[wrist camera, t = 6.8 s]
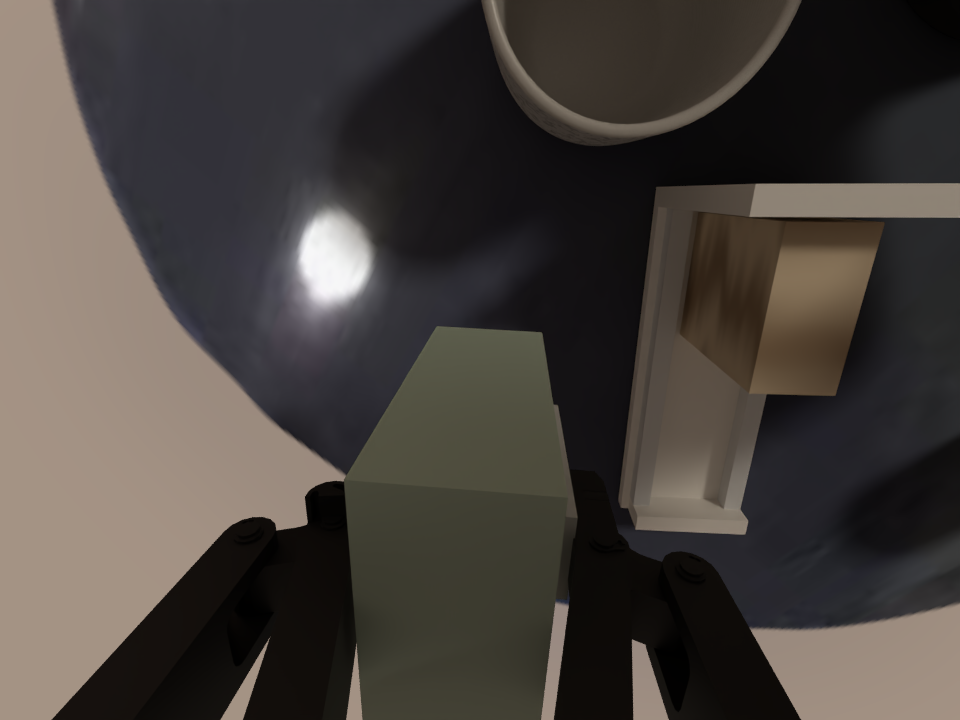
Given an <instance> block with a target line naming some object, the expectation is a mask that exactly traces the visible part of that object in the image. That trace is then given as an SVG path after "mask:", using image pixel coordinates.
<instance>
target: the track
mask: <svg viewBox="0 0 960 720" xmlns="http://www.w3.org/2000/svg"><path fill="white" fill-rule="evenodd" d="M698 212H709V213H718V214H727V215H737V216H746V217H939V218H960V184H733V185H702V186H670V187H656V194H655V202H654V210H653V218H652V227H651V235H650V243H649V251H648V259H647V268H646V276H645V284H644V292H643V301H642V309H641V317H640V325H639V334H638V342H637V350H636V358H635V366H634V375H633V383H632V391H631V399H630V408H629V416H628V424H627V432H626V441H625V449H624V457H623V465H622V473H621V482H620V490H619V498H618V501H619V504H620V507H621V508H628V510H629V512H630V515H631V518H632V521H633V523H634V526H635V529H636V530H656V531H678V532H701V533H723V534H745V533H746V529H747V525H748V520H747V519H746V517H745V516H744V514H743V513H742V512H741V510H740V508H741V504H742V499H743V495H744V491H745V486H746V482H747V478H748V473H749V469H750V465H751V460H752V456H753V452H754V447H755V443H756V439H757V434H758V430H759V426H760V421H761V417H762V413H763V408H764V404H765V400H766V395H767V394H749V393H748V392H747V391H746V390H744V389H743V388H742V387H741V386H740V385H739V384H737V383H736V382H735V381H734V380H733V379H732V378H730V377H729V376H728V375H727V374H726V373H724V372H723V371H722V370H721V369H720V368H719V367H717V366H716V365H715V364H714V363H713V362H712V361H710V360H709V359H708V358H707V357H706V356H705V355H703V354H702V353H701V352H700V351H699V350H698V349H696V348H695V347H694V346H693V345H692V344H691V343H689V342H688V341H687V340H686V339H685V338H684V337H682V336H681V335H680V329H681V323H682V316H683V310H684V303H685V297H686V290H687V284H688V277H689V271H690V264H691V257H692V251H693V244H694V238H695V231H696V225H697V218H698Z"/></svg>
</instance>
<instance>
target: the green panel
mask: <svg viewBox="0 0 960 720" xmlns="http://www.w3.org/2000/svg"><path fill="white" fill-rule="evenodd" d="M344 487H345V500H346V513H347V526H348V538H349V551H350V564H351V577H352V590H353V602H354V615H355V628H356V641H357V653H358V665H359V679H360V691H361V703H362V704H361V705H362V717H363V720H541V715H542V707H543V698H544V690H545V682H546V673H547V664H548V657H549V649H550V641H551V633H552V625H553V616H554V608H555V600H556V592H557V584H558V576H559V567H560V559H561V551H562V543H563V535H564V526H565V518H566V510H567V502H568V494H567V488H566V482H565V475H564V469H563V463H562V456H561V450H560V443H559V437H558V431H557V424H556V418H555V412H554V405H553V399H552V392H551V386H550V380H549V373H548V367H547V361H546V354H545V348H544V341H543V335H542V332H527V331H509V330H492V329H474V328H457V327H439V326H437V327H436V328H435V330H434V332H433V333H432V335H431V337H430V338H429V340H428V342H427V343H426V345H425V347H424V348H423V350H422V352H421V353H420V355H419V357H418V358H417V360H416V362H415V363H414V365H413V367H412V368H411V370H410V371H409V373H408V375H407V376H406V378H405V380H404V381H403V383H402V385H401V386H400V388H399V390H398V391H397V393H396V395H395V396H394V398H393V400H392V401H391V403H390V405H389V406H388V408H387V410H386V411H385V413H384V414H383V416H382V418H381V419H380V421H379V423H378V424H377V426H376V428H375V429H374V431H373V433H372V434H371V436H370V438H369V439H368V441H367V443H366V444H365V446H364V448H363V449H362V451H361V452H360V454H359V456H358V457H357V459H356V461H355V462H354V464H353V466H352V467H351V469H350V471H349V472H348V474H347V476H346V477H345V479H344Z"/></svg>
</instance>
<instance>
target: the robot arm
mask: <svg viewBox="0 0 960 720" xmlns="http://www.w3.org/2000/svg"><path fill="white" fill-rule="evenodd" d="M907 1H908V3H909V4H910V6H911V7H912V8H913V9H914V11H915V12H916V13H917V14H918V15H919V16H920V17H921V18H922V19H923V20H924V21H925V22H927V23H928V24H929V25H930V26H932V27H933V28H935V29H936V30H938V31H940V32H942V33H944V34H945V35H948V36H950V37H953V38H955V39H959V40H960V0H907ZM554 412H555V418H556V424H557V431H558V437H559V443H560V450H561V456H562V463H563V469H564V475H565V482H566V488H567V494H568V502H567V510H566V518H565V526H564V535H563V543H562V551H561V559H560V567H559V576H558V584H557V592H556V599H566V600H567V594H568V587H569V595H570V601H569V609H568V616H567V624H566V631H565V639H564V646H563V655H562V662H561V669H560V677H559V685H558V692H557V701H556V707H555V715H554V720H633V685H632V684H633V683H632V682H633V681H632V680H633V679H632V639H633V640H635V641H638V642H640V643H643V644H645V645H646V649H647V652H648V655H649V658H650V661H651V665H652V668H653V671H654V674H655V677H656V680H657V683H658V687H659V690H660V693H661V696H662V699H663V703H664V706H665V709H666V712H667V715H668V718H669V720H801V719H800V718H799V716H798V714H797V712H796V710H795V708H794V707H793V705H792V703H791V701H790V699H789V698H788V696H787V694H786V692H785V690H784V689H783V687H782V685H781V684H780V682H779V680H778V678H777V676H776V675H775V673H774V672H773V669H772V667H771V666H770V664H769V662H768V660H767V659H766V657H765V655H764V653H763V652H762V650H761V648H760V646H759V644H758V643H757V641H756V639H755V637H754V636H753V634H752V632H751V630H750V628H749V627H748V625H747V623H746V621H745V619H744V618H743V616H742V614H741V612H740V611H739V609H738V607H737V605H736V604H735V602H734V600H733V598H732V596H731V595H730V593H729V591H728V589H727V588H726V586H725V584H724V582H723V580H722V579H721V577H720V575H719V573H718V572H717V571H716V570H715V568H714V567H713V566H712V565H711V564H710V563H708V562H707V561H706V560H704V559H703V558H701V557H699V556H696V555H694V554H692V553H687V552H671V553H670V554H668V555H666V556H665V557H664V559H663V561H662V562H661V561H657V560H654V559H651V558H648V557H645V556H643V555H640V554H638V553H636V552H635V551H633V550H631V549H630V548H629V544H628V542H627V541H626V540H625V538H624V537H623V536H622V535H620V534H619V533H618V530H617V527H616V523H615V520H614V516H613V513H612V509H611V506H610V503H609V499H608V495H607V493H606V488H605V485H604V481H603V480H602V479H601V478H600V477H599V476H598V475H597V474H596V473H595V471H583V470H570V469H569V466H568V460H567V454H566V449H565V443H564V437H563V432H562V426H561V420H560V415H559V409H558V405H554ZM305 501H306V511H307V519H308V523H307V525H305V526H302V527H297V528H291V529H284V530H278V531H276V526H275V523H274V522H273V521H272V520H271V519H267V518H264V517H252V518H248V519H244V520H241V521H239V522H237V523H235V524H233V525H232V526H230V527H229V528H228V529H227V530H225V531H224V532H223V533H222V535H221V536H220V537H219V538H218V539H217V540H216V541H215V542H214V544H212V546H211V547H210V548H209V549H208V550H207V551H206V552H205V553H204V554H203V555H202V556H201V557H200V559H199V560H198V561H197V562H196V563H195V564H194V565H193V566H192V567H191V568H190V570H189V571H188V572H187V573H186V574H185V575H184V576H183V577H182V578H181V579H180V580H179V582H178V583H177V584H176V585H175V586H174V587H173V588H172V589H171V590H170V591H169V592H168V593H167V595H166V596H165V597H164V598H163V599H162V600H161V601H160V602H159V603H158V604H157V605H156V607H155V608H154V609H153V610H152V611H151V612H150V613H149V614H148V615H147V616H146V617H145V619H144V620H143V621H142V622H141V623H140V624H139V625H138V626H137V627H136V628H135V630H134V631H133V632H132V633H131V634H130V635H129V636H128V637H127V638H126V639H125V641H123V643H122V644H121V645H120V646H119V647H118V648H117V649H116V650H115V651H114V652H113V653H112V654H111V656H110V657H109V658H108V659H107V660H106V661H105V662H104V663H103V664H102V666H101V667H100V668H99V669H98V670H97V671H96V672H95V673H94V674H93V675H92V676H91V677H90V678H89V680H88V681H87V682H86V683H85V684H84V685H83V686H82V687H81V688H80V689H79V691H78V692H77V693H76V694H75V695H74V696H73V697H72V698H71V699H70V700H69V701H68V702H67V704H66V705H65V706H64V707H63V708H62V709H61V710H60V711H59V712H58V713H57V714H56V716H55V717H54V718H53V719H52V720H220V719H221V718H222V716H223V714H224V712H225V711H226V709H227V708H228V706H229V704H230V703H231V701H232V699H233V698H234V696H235V694H236V693H237V691H238V689H239V688H240V686H241V684H242V683H243V681H244V679H245V678H246V676H247V674H248V673H249V671H250V669H251V668H252V666H253V664H254V663H255V661H256V659H257V657H258V656H259V654H260V652H261V651H262V649H263V648H264V646H265V644H266V643H267V641H268V639H269V638H270V639H269V642H268V645H267V649H266V651H265V654H264V658H263V661H262V664H261V667H260V670H259V673H258V676H257V679H256V682H255V685H254V688H253V691H252V694H251V697H250V700H249V704H248V706H247V709H246V712H245V715H244V718H243V720H346V715H347V709H348V701H349V694H350V687H351V679H352V672H353V665H354V657H355V649H356V642H357V641H356V628H355V615H354V602H353V590H352V577H351V564H350V551H349V538H348V526H347V513H346V500H345V487H344V482H342V481H332V482H325V483H323V484H320V485H317V486H315V487H314V488H312V489H311V490H310V491H309V492H308V493H307V495H306V496H305Z"/></svg>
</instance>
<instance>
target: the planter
mask: <svg viewBox="0 0 960 720" xmlns="http://www.w3.org/2000/svg"><path fill="white" fill-rule="evenodd" d="M481 1H482V6H483V10H484V15H485V19H486V23H487V26H488V30H489V34H490V38H491V42H492V46H493V50H494V53H495V57H496V60H497V63H498V66H499V69H500V71H501V74H502V76H503V79H504V81H505V83H506V86H507V87H508V89H509V91H510V93H511V95H512V96H513V98H514V99H515V101H516V102H517V104H518V105H519V107H520V108H521V109H522V110H523V111H524V113H525V114H526V115H527V116H528V117H529V118H530V119H531V120H532V121H533V122H534V123H535V124H537V125H538V126H539V127H541V128H542V129H543V130H545V131H546V132H548V133H550V134H552V135H553V136H555V137H558V138H560V139H562V140H565V141H568V142H572V143H575V144H581V145H587V146H608V145H617V144H623V143H628V142H632V141H636V140H640V139H644V138H647V137H651V136H654V135H659V134H662V133H666V132H669V131H673V130H676V129H678V128H680V127H683V126H685V125H688V124H690V123H692V122H694V121H696V120H698V119H700V118H702V117H704V116H705V115H707V114H708V113H710V112H712V111H713V110H715V109H716V108H718V107H719V106H721V105H722V104H723V103H724V102H726V101H727V100H728V99H730V98H731V97H732V96H733V95H735V94H736V93H737V92H738V91H739V90H740V89H741V88H742V87H743V86H744V85H745V84H746V83H747V82H748V81H750V79H751V78H752V77H753V76H754V75H755V74H756V73H757V72H758V71H759V69H760V68H761V67H762V66H763V65H764V63H765V62H766V61H767V60H768V58H769V57H770V56H771V54H772V53H773V52H774V50H775V49H776V47H777V46H778V44H779V43H780V41H781V39H782V38H783V36H784V35H785V33H786V31H787V30H788V28H789V26H790V24H791V22H792V20H793V18H794V16H795V14H796V12H797V10H798V8H799V5H800V3H801V1H802V0H481Z"/></svg>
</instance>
